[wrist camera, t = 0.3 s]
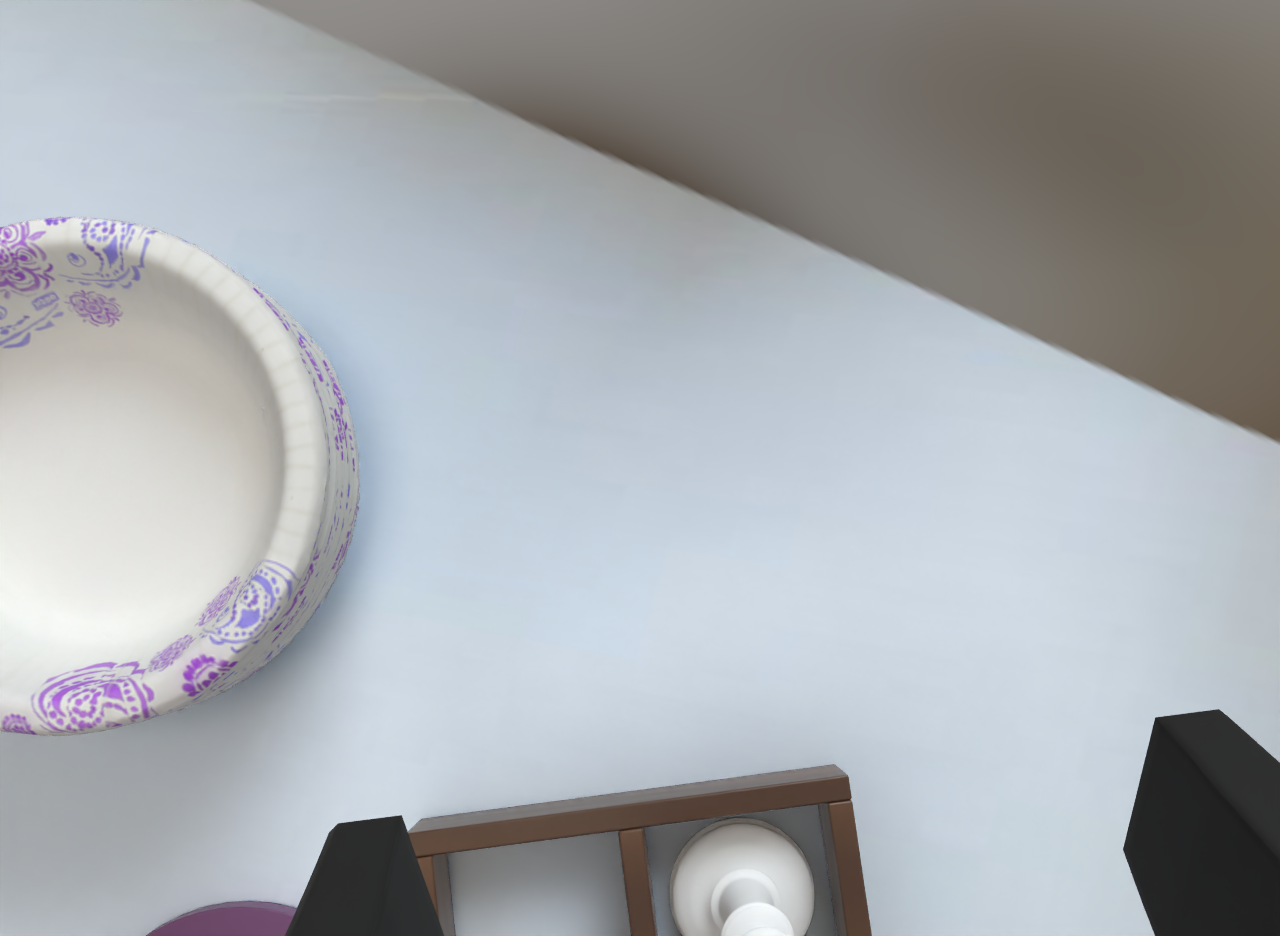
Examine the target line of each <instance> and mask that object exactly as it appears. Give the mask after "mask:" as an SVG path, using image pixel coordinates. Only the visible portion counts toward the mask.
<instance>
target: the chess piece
mask: <svg viewBox="0 0 1280 936" xmlns="http://www.w3.org/2000/svg"><path fill="white" fill-rule="evenodd" d="M814 893H815V892H814V881H813V876H812V872H811V869H810V867H809V864H808V862H807V860H806V858H805V856H804V854H803V852H802V851H801V849H800V848H799V847H798V845H797V844H796V843H795V842H794V841H793V840H792V839H791V838H790V837H789V836H788V835H787V834H786V833H784V832H783V831H782V830H780V829H778V828H777V827H775V826H773V825H771V824H769V823H766V822H764V821H760V820H757V819H751V818H731V819H725V820H722V821H719V822H716V823H713V824H711V825H709V826H707V827H705V828H704V829H702V830H701V831H699V832H698V833H697V834H696V835H694V836H693V837H692V838H691V839H690V840H689V841H688V842H687V844H686V845H685V846H684V847H683V849H682V850H681V852H680V854H679V855H678V857H677V859H676V862H675V864H674V867H673V870H672V873H671V878H670V885H669V899H670V906H671V911H672V915H673V918H674V920H675V923H676V925H677V927H678V929H679V931H680V933H681V934H682V936H805V934H806V932H807V930H808V928H809V925H810V923H811V920H812V916H813V911H814V901H815V894H814Z"/></svg>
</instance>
